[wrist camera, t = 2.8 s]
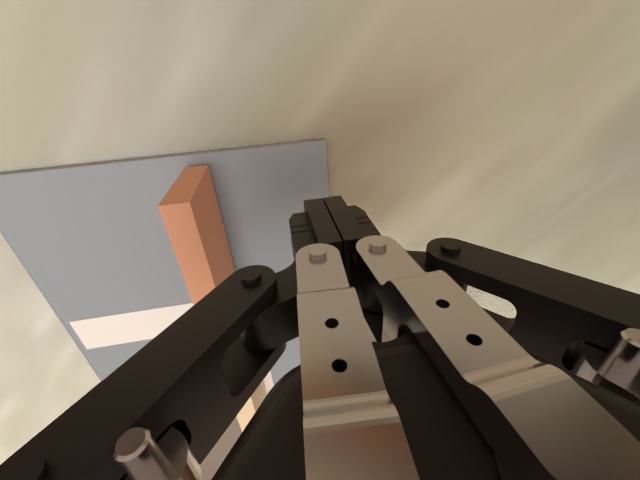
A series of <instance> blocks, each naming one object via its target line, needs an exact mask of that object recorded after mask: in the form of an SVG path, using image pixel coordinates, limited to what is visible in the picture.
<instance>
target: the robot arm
mask: <svg viewBox="0 0 640 480" xmlns="http://www.w3.org/2000/svg"><path fill="white" fill-rule="evenodd" d="M289 226H290V234H291V242H292V250H293V256H294V262H293V263H292V264H291V265H290V266H289V267H287V268H286V269H284V270H281V271H279V272H276V273H275V272H274V270H272V269H271V268H270V267H267V266H263V265H251V266H246V267H243V268H241V269H239V270H237V271H235V272H234V273H232V274H231V275H230V276H229V277H228V278H226V279H225V280H224V281H223V282H221V283H220V284H219V285H218V286H217V287H215V288H214V289H213V290H212V291H211V292H209V293H208V294H207V295H206V296H205V297H203V298H202V299H201V300H200V301H198V302H197V303H196V304H195V305H194V306H192V307H191V308H190V309H189V310H188V311H186V312H185V313H184V314H183V315H181V316H180V317H179V318H178V319H177V320H175V321H174V322H173V323H172V324H171V325H169V326H168V327H167V328H166V329H164V330H163V331H162V332H161V333H160V334H158V335H157V336H156V337H155V338H154V339H152V340H151V341H150V342H149V343H147V344H146V345H145V346H144V347H143V348H141V349H140V350H139V351H138V352H137V353H135V354H134V355H133V356H132V357H130V358H129V359H128V360H127V361H126V362H124V363H123V364H122V365H121V366H120V367H118V368H117V369H116V370H115V371H114V372H112V373H111V374H110V375H109V376H107V377H106V378H105V379H104V380H103V381H101V382H100V383H99V384H98V385H97V386H95V387H94V388H93V389H92V390H90V391H89V392H88V393H87V394H86V395H84V396H83V397H82V398H81V399H80V400H78V401H77V402H76V403H75V404H73V405H72V406H71V407H70V408H69V409H67V410H66V411H65V412H64V413H63V414H61V415H60V416H59V417H58V418H56V419H55V420H54V421H53V422H52V423H50V424H49V425H48V426H47V427H46V428H44V429H43V430H42V431H41V432H39V433H38V434H37V435H36V436H35V437H33V438H32V439H31V440H30V441H29V442H27V443H26V444H25V445H24V446H23V447H21V448H20V449H19V450H18V451H16V452H15V453H14V454H13V455H12V456H10V457H9V458H8V459H7V460H6V461H4V462H3V463H2V464H1V465H0V480H202V473H201V468H200V466H199V465H200V464H201V462H202V461H203V460H204V459H205V457H206V456H207V455H208V453H209V452H210V450H211V449H212V448H213V447H214V445H215V444H216V443H217V441H218V440H219V439H220V437H221V436H222V435H223V433H224V432H225V431H226V429H227V428H228V427H229V425H230V424H231V422H232V421H233V420H234V418H235V417H236V416H237V414H238V413H239V412H240V410H241V409H242V408H243V406H244V405H245V404H246V402H247V401H248V400H249V398H250V397H251V396H252V394H253V393H254V392H255V390H256V389H257V388H258V386H259V385H260V384H261V382H262V381H263V380H264V378H265V377H266V375H267V374H268V373H269V371H270V370H271V369H272V367H273V366H274V365H275V363H276V362H277V361H278V359H279V358H280V357H281V355H282V354H283V353H284V351H285V349H286V345H287V342H288V341H290V340H292V339H295V338H297V337H299V344H300V362H301V364H300V365H298V366H296V367H295V368H293V369H292V370H290V371H289V372H288V373H286V374H285V375H284V376H283V377H282V378H281V379H280V380H279V381H278V382H277V383H276V384H275V385H274V386H273V388H272V389H271V390H270V391H269V393H268V394H267V395H266V397H265V398H264V400H263V401H262V403H261V405H260V406H259V408H258V409H257V411H256V412H255V414H254V415H253V417H252V418H251V420H250V421H249V423H248V424H247V426H246V427H245V429H244V431H243V432H242V434H241V435H240V437H239V438H238V440H237V441H236V443H235V444H234V446H233V447H232V449H231V450H230V452H229V454H228V455H227V457H226V458H225V460H224V461H223V463H222V464H221V466H220V467H219V469H218V470H217V472H216V474H215V475H214V477H213V478H212V479H211V480H640V294H636V293H633V292H630V291H626V290H623V289H620V288H616V287H613V286H610V285H607V284H603V283H600V282H597V281H593V280H590V279H587V278H583V277H580V276H577V275H574V274H570V273H567V272H564V271H560V270H557V269H554V268H550V267H547V266H544V265H541V264H537V263H534V262H531V261H527V260H524V259H521V258H517V257H514V256H511V255H508V254H504V253H501V252H498V251H494V250H491V249H488V248H484V247H481V246H478V245H475V244H471V243H468V242H465V241H461V240H458V239H453V238H437V239H434V240H432V241H430V242H429V243H428V244H427V248H426V252H419V251H405V250H404V249H403V248H402V247H401V245H400V244H399V243H398V242H397V241H395V240H394V239H392V238H390V237H386V236H381V234H380V233H379V232H378V230H377V229H376V227H375V226H374V224H373V223H371V220H370V219H369V217H368V216H367V215H366V213H365V212H364V210H362V209H360V208H359V207H357V206H355V205H354V206H347V205H346V203H345V202H344V200H343V198H342V197H341V196H333V197H325V198H317V199H309V200H304V212H301V213H293V214H292V216H291V217H290V219H289ZM468 285H469V286H472V287H474V288H477V289H480V290H482V291H485V292H488V293H490V294H493V295H495V296H498V297H501V298H503V299H506V300H508V301H509V302H511V303H512V304H513V305H514V306H515V308H516V311H517V315H516V318H506V317H503V316H501V315H499V314H496V313H494V312H491V311H489V310H486V309H484V308H482V307H480V306H479V305H478V304H477V303H476V302H475V301H474V300H473V299H472V298H471V297H470V296H469V295H468V294H467V293H466V291H467V287H468Z"/></svg>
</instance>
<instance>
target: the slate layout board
mask: <svg viewBox="0 0 640 480" xmlns="http://www.w3.org/2000/svg"><path fill="white" fill-rule="evenodd" d="M201 165H208V166H209V170H210V174H211V178H212V182H213V186H214V189H215V193H216V197H217V201H218V205H219V209H220V213H221V217H222V221H223V225H224V229H225V233H226V237H227V241H228V245H229V249H230V252H231V256H232V260H233V264H234V268H235V271H237V270H239V269H241V268H243V267H246V266H251V265H263V266H267V267H270V268H271V269H272V270H274V272H275V273H276V272H279V271H281V270H284V269H286V268H287V267H289V266H290V265H291V264H292V263H293V262H294V256H293V250H292V242H291V234H290V226H289V219H290V217H291V216H292V214H293V213H301V212H304V200H309V199H317V198H325V197H329V182H328V164H327V146H326V139H325V138H323V139H314V140H305V141H295V142H286V143H276V144H267V145H258V146H248V147H239V148H229V149H220V150H211V151H201V152H192V153H183V154H173V155H164V156H154V157H145V158H136V159H126V160H117V161H107V162H98V163H89V164H79V165H70V166H61V167H51V168H42V169H32V170H23V171H14V172H4V173H0V232H1V234H2V235H3V237H4V238H5V240H6V241H7V243H8V244H9V245H10V247H11V248H12V250H13V251H14V253H15V254H16V256H17V257H18V259H19V260H20V262H21V263H22V265H23V266H24V268H25V269H26V271H27V272H28V274H29V275H30V277H31V278H32V280H33V281H34V282H35V284H36V285H37V287H38V288H39V290H40V291H41V293H42V294H43V296H44V297H45V299H46V300H47V302H48V303H49V305H50V306H51V308H52V309H53V311H54V312H55V314H56V315H57V317H58V318H59V319H60V321H61V322H62V324H63V325H64V327H65V328H66V330H67V331H68V333H69V334H70V336H71V337H72V339H73V340H74V342H75V343H76V345H77V346H78V348H79V349H80V351H81V352H82V354H83V355H84V356H85V358H86V359H87V361H88V362H89V364H90V365H91V367H92V368H93V370H94V371H95V373H96V374H97V376H98V377H99V379H100V380H101V381H103V380H104V379H105V378H106V377H107V376H109V375H110V374H111V373H112V372H114V371H115V370H116V369H117V368H118V367H120V366H121V365H122V364H123V363H124V362H126V361H127V360H128V359H129V358H130V357H132V356H133V355H134V354H135V353H137V352H138V351H139V350H140V349H141V348H143V347H144V346H145V345H146V344H147V343H149V342H150V341H151V340H152V339H154V338H155V337H156V336H157V335H158V334H160V333H161V332H162V331H163V330H164V329H166V328H167V327H168V326H169V325H171V324H172V323H173V322H174V321H175V320H177V319H178V318H179V317H180V316H181V315H183V314H184V313H185V312H186V311H188V310H189V309H190V308H191V307H192V306H194V305H193V302H192V300H191V297H190V294H189V291H188V289H187V286H186V283H185V280H184V278H183V275H182V272H181V269H180V267H179V264H178V261H177V258H176V256H175V253H174V250H173V247H172V245H171V242H170V239H169V236H168V234H167V231H166V228H165V225H164V223H163V220H162V217H161V214H160V212H159V209H158V205H159V203H160V202H161V200H162V199H163V198H164V196H165V195H166V193H167V192H168V190H169V189H170V188H171V186H172V185H173V183H174V182H175V180H176V179H177V178H178V176H179V175H180V173H181V172H182V170H183V169H184V168H185V167H192V166H201ZM300 364H301V362H300V344H299V337H297V338H295V339H292V340H290V341H288V342H287V345H286V349H285V351H284V353H283V354H282V355H281V357H280V358H279V359H278V361H277V362H276V363H275V365H274V366H273V367H272V369H271V370H270V371H269V373H268V374H267V375H266V377H265V378H264V380H263V381H262V382H261V384H260V385H259V386H258V388H257V389H256V390H255V392H254V393H253V394H252V396H251V397H250V398H249V400H248V401H247V402H246V404H245V405H244V406H243V408H242V409H241V410H240V412H239V413H238V414H237V419H238V421H239V424H240V427H241V430H242V432H243V431H244V429H245V427H246V426H247V424H248V423H249V421H250V420H251V418H252V417H253V415H254V414H255V412H256V411H257V409H258V408H259V406H260V405H261V403H262V401H263V400H264V398H265V397H266V395H267V394H268V393H269V391H270V390H271V389H272V388H273V386H274V385H275V384H276V383H277V382H278V381H279V380H280V379H281V378H282V377H283V376H284V375H285V374H286V373H288V372H289V371H290V370H292V369H293V368H295V367H296V366H298V365H300Z"/></svg>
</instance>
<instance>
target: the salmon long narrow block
mask: <svg viewBox="0 0 640 480" xmlns="http://www.w3.org/2000/svg"><path fill="white" fill-rule="evenodd" d="M158 209H159V212H160V214H161V217H162V220H163V223H164V225H165V228H166V231H167V234H168V236H169V239H170V242H171V245H172V247H173V250H174V253H175V256H176V258H177V261H178V264H179V267H180V269H181V272H182V275H183V278H184V280H185V283H186V286H187V289H188V291H189V294H190V297H191V300H192V302H193V305H195V304H196V303H197V302H198V301H200V300H201V299H202V298H203V297H205V296H206V295H207V294H208V293H209V292H211V291H212V290H213V289H214V288H215V287H217V286H218V285H219V284H220V283H221V282H223V281H224V280H225V279H226V278H228V277H229V276H230V275H231V274H232V273H234V272H235V268H234V264H233V260H232V256H231V252H230V249H229V245H228V241H227V237H226V233H225V229H224V225H223V221H222V217H221V213H220V209H219V205H218V201H217V197H216V193H215V189H214V186H213V182H212V178H211V174H210V170H209V166H208V165H201V166H192V167H185V168H184V169H183V170H182V172H181V173H180V175H179V176H178V178H177V179H176V180H175V182H174V183H173V185H172V186H171V188H170V189H169V190H168V192H167V193H166V195H165V196H164V198H163V199H162V200H161V202H160V203H159V205H158Z"/></svg>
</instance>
